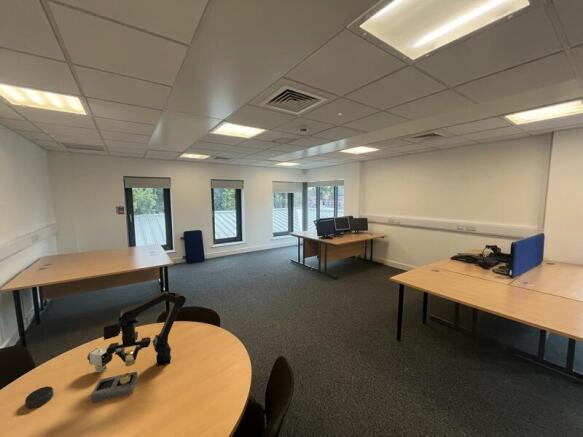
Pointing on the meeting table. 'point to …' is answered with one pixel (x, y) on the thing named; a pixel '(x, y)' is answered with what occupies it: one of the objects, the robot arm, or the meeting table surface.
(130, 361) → the brass domed cylinder
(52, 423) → the meeting table surface
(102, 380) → the jig
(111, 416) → the meeting table surface
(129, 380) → the dull gold rounded cylinder
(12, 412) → the meeting table surface
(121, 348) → the robot arm
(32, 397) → the smart speaker
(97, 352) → the pneumatic valve
